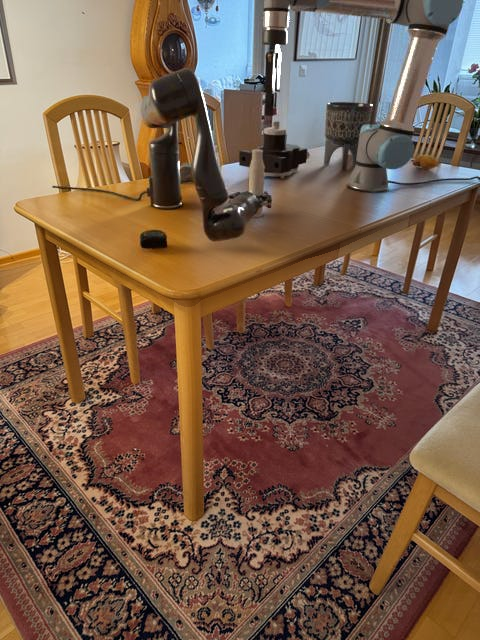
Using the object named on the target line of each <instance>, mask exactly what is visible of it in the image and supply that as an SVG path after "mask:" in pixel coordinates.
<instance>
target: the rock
mask: <svg viewBox="0 0 480 640" xmlns="http://www.w3.org/2000/svg"><path fill="white" fill-rule="evenodd" d="M179 167H180V184H187V183H194V182H193V179H192V172H191V167H192V163H189V162H186V161H184V162H183V163H182V164H181V165H179Z"/></svg>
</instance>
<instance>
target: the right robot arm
mask: <svg viewBox="0 0 480 640" xmlns="http://www.w3.org/2000/svg"><path fill="white" fill-rule="evenodd" d="M463 5H464V0H263V15H261V20H262V28H263V29H264V30H263V31H262V35H261V38H262V39H261V44H262V45H263V46H264V45H265V46H268V49H267V51H266V54H265V55H264V56H265V72H264V74H265V75H264V89H263V91H262V92H263V93H264V94H265V101H264V102H265V105H264V107H265V115H264V116H266V117H274V116H275V115H274V107H277V108H278V94H279V93H280V92H281V89H280V79H281V77H280V76H281V63H282V58H283V57H282V52H281V48H280V46H286V45H287V44H288V34H289V33H288V32H289V31H288V30H287V29H288V28H289V22H290V21H289V20H290V11H292V12H297V13H299V12H310V13H320V14H321V13H322V14H331V15H342V16H350V17H361V18H371V19H381V20H385V22H386V23H387V24H391V25H392V24H393V25H399V26H404V27H408V29H407V33H408V35H409V42H408V45H407V48H406V52H405V55H404V59H403V62H402V65H401V69H400V72H399V76H398V79H397V82H396V85H395V88H394V92H393V95H392V99H391V102H390V105H389V109H388V111H387V112H388V113H387V116H386V118H385V119H384V120H383V121H382V122H380V124H369V125H363V126H362V127H361V131H360V134H359V143H358V151H357V158H356V165H355V166H354V167H353V171H351V174H350V176H349V179H348V182H347V187H348V188H349V189H351V190H354V191H358V192H363V193H364V192H365V193H382V192H386V191H388V189H389V184H393V185H400V186H416V185H423V184H424V185H426V184H430V183H435V182H443V181H444V182H446V181H471V180H475V179H478V181H480V176H479V175H477V176H476V175H475V176H472V177H466V178H465V177H463V178H462V177H451V178H449V177H448V178H437V179H430V180H426V181H425V180H424V181H419V182H398V181H393V180H389V178H388V173H387V172H388V171H387V170H391V171H392V170H398V169H401V168H402V167H404V166H405V165H407V164H408V163H409V161H411V160H412V157H413V155H414V152H415V145H414V142H413V136H414V133H415V128H414V126H413V121H414V119H415V115H416V112H417V109H418V107H419V106H418V105H419V103H420V101H421V97H422V94H423V90H424V87H425V85H426V82H427V78H428V75H429V73H430V70H431V66H432V64H433V60H434V57H435V54H436V51H437V48H438V44H439V43H440V42H441V41H442V40H443V39H445V38H446V36H447V34H448V31H449V27H450V25H451V24H453V23H454V22H455V21H456V20H457V19H458V17H459V16H460V14H461V12H462V9H463Z"/></svg>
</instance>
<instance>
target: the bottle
mask: <svg viewBox="0 0 480 640" xmlns="http://www.w3.org/2000/svg"><path fill="white" fill-rule="evenodd" d="M251 152H252V160H251V163H250V167H248V172H249V173H248V190H249V192H250V193H252V194H254V195H257V194H263V193H264V185H265V184H264V183H265V177H264V164H263V160H262V154H263V150H260V149H257V148H253V149H252V150H251ZM263 209H264V206H262V207H261V208H259V210H258V211H257V213H256V214H255V215H254V216H253V217H252V218H261V217H262V216H263Z"/></svg>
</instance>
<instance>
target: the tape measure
mask: <svg viewBox="0 0 480 640" xmlns="http://www.w3.org/2000/svg"><path fill="white" fill-rule="evenodd" d="M167 236H168V235H167V234H166V232H165V231H164V230H161V229H147V230H144V231H143V232H141V233H140V235H139V240H140V241H139V245H140V246H139V247H141V248H142V249H146V250H157V249H167V248H168V240H167V239H168V237H167Z"/></svg>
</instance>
